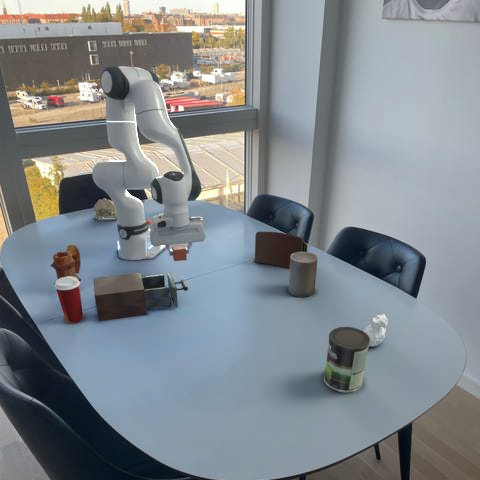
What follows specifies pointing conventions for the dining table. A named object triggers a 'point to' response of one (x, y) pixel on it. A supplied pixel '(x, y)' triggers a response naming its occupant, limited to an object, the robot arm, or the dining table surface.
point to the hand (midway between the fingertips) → (179, 254)
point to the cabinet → (119, 296)
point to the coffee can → (346, 359)
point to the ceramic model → (105, 210)
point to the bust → (377, 330)
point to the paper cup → (70, 298)
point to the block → (179, 252)
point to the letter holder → (277, 248)
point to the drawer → (161, 291)
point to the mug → (67, 262)
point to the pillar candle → (302, 274)
